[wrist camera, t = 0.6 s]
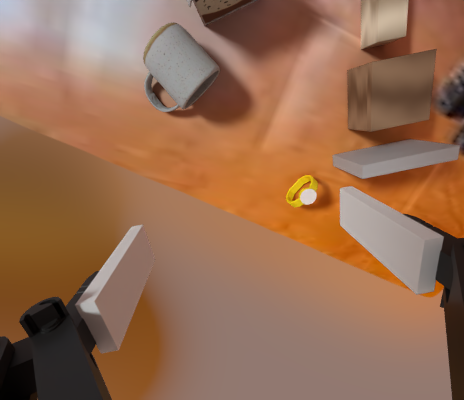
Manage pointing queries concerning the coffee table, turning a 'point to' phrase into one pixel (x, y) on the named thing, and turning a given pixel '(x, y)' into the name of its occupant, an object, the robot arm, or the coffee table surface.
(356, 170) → the wall
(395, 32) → the cream l-shaped piece
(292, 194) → the watch
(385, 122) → the block
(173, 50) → the ceramic mug
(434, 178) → the coffee table surface
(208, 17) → the half-round slice
